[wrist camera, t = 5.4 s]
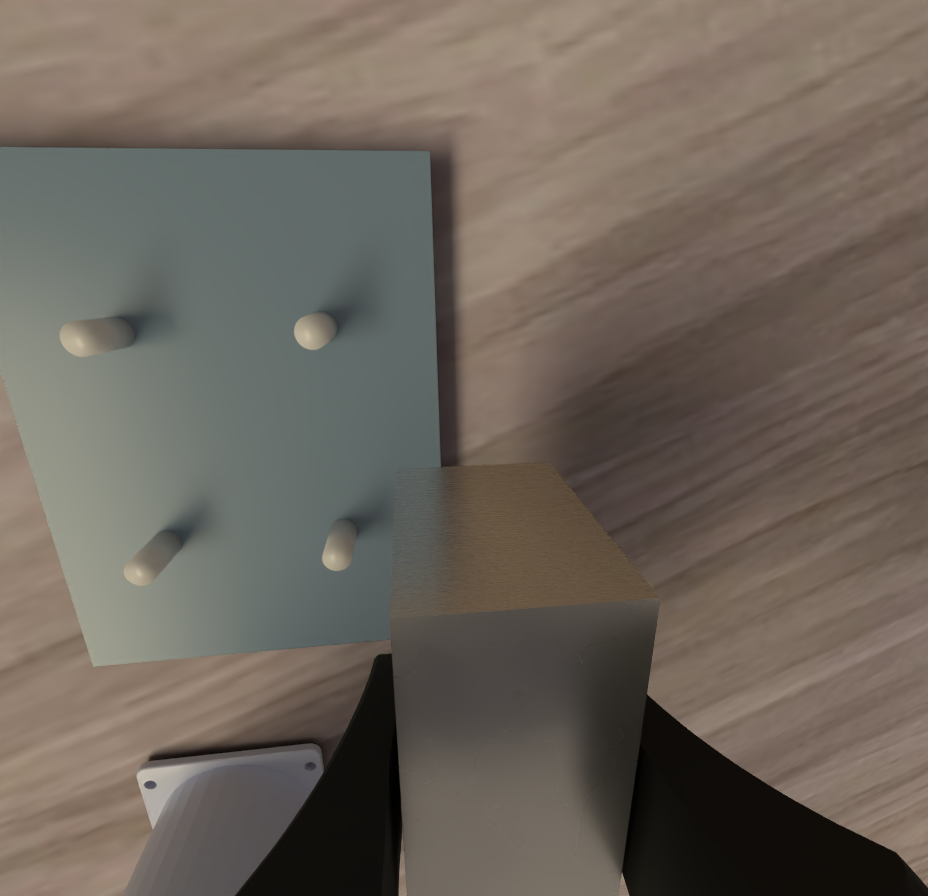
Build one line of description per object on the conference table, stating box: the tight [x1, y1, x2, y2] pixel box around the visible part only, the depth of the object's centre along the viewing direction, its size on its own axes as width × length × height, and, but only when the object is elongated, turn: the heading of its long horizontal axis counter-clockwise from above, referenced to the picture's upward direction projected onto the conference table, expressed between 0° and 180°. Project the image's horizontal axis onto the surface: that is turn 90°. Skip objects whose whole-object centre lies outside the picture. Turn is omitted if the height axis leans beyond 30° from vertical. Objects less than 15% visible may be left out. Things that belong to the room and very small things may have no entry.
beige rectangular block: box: [390, 462, 660, 896], centre depth 12 cm, size 10×4×6 cm, turn 0°
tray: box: [0, 147, 441, 667], centre depth 17 cm, size 18×14×3 cm
